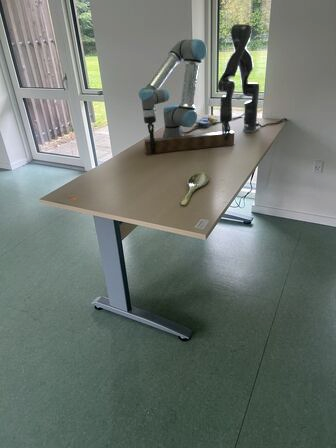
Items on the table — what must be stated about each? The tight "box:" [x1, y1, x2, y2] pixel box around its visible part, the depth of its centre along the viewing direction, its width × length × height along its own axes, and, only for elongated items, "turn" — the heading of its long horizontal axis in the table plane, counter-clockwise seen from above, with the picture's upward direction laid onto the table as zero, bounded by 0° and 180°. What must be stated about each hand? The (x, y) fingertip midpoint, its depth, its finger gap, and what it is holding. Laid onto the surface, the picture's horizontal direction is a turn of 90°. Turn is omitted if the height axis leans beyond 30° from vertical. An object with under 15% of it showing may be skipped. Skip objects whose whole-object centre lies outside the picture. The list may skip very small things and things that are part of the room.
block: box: [144, 130, 235, 155], centre depth 222 cm, size 59×5×8 cm, turn 95°
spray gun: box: [195, 115, 218, 128], centre depth 272 cm, size 21×4×15 cm
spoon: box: [180, 171, 210, 207], centre depth 170 cm, size 35×11×2 cm, turn 159°
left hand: (153, 151), depth 223 cm, fingers closed on block, 5 cm apart
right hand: (225, 139), depth 223 cm, fingers closed on block, 5 cm apart
